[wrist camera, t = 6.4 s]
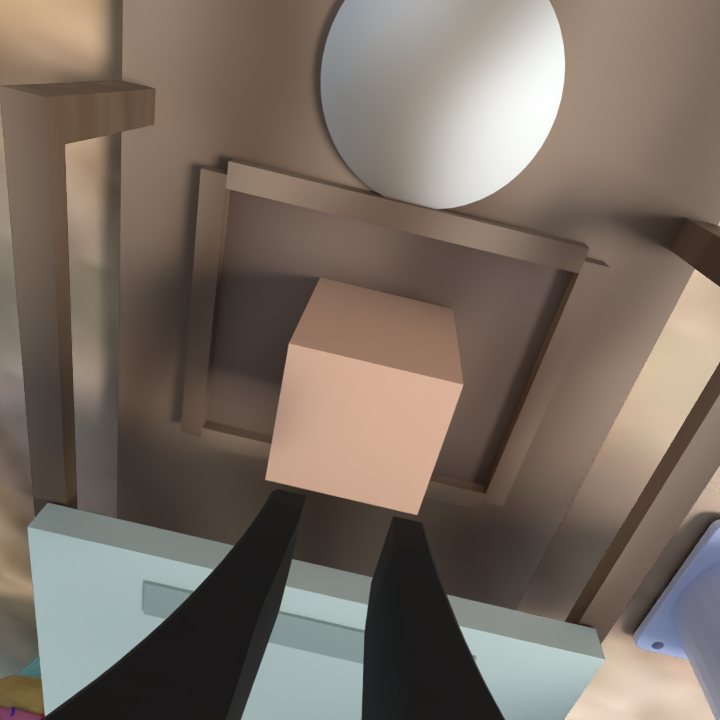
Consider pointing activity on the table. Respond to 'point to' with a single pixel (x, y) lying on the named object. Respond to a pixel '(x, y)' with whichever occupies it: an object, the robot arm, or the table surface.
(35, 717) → the cupcake
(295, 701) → the slide cover
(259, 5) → the puzzle board
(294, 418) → the block
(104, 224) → the table surface
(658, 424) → the table surface
